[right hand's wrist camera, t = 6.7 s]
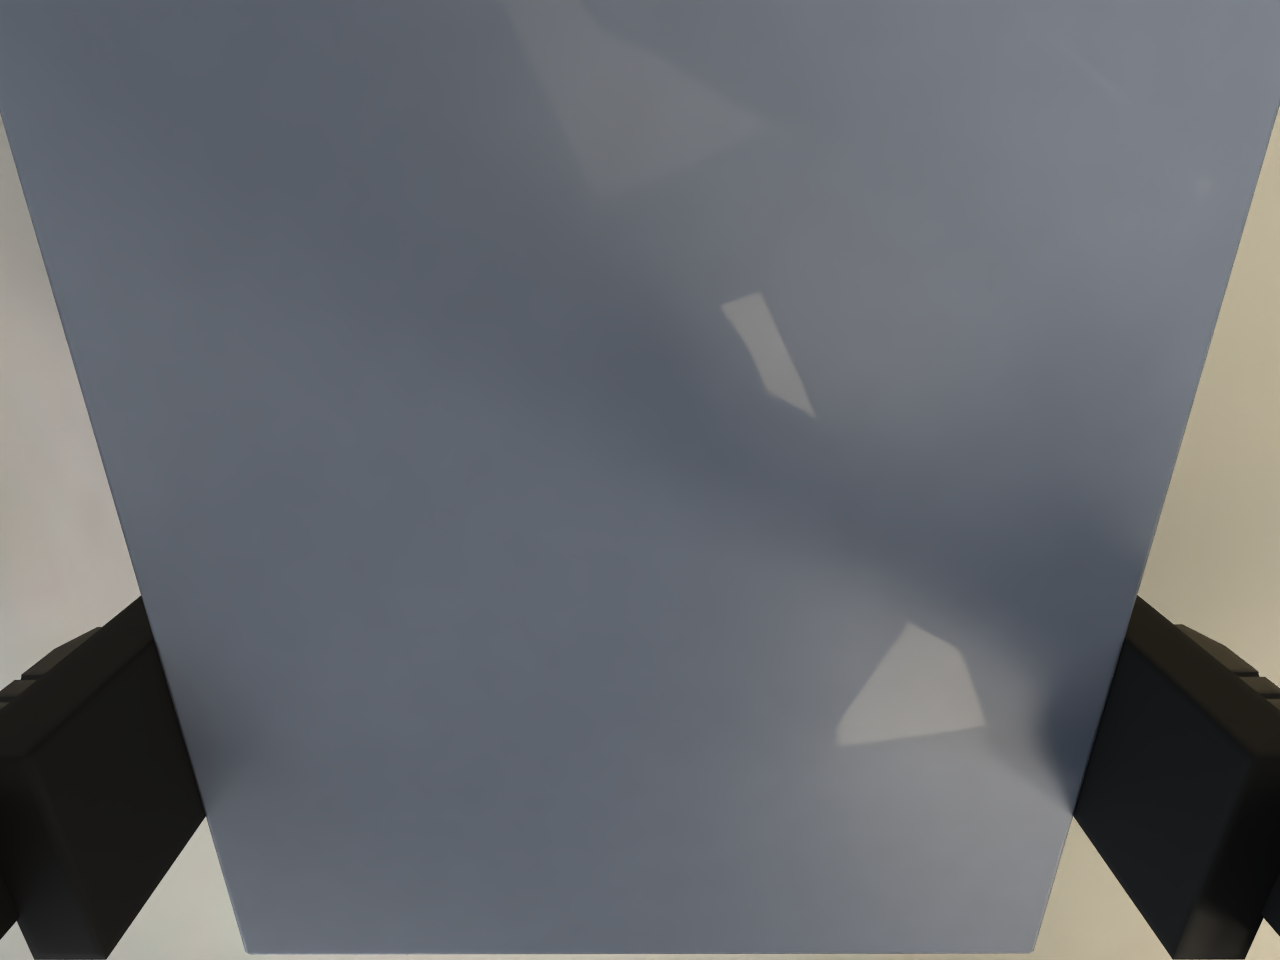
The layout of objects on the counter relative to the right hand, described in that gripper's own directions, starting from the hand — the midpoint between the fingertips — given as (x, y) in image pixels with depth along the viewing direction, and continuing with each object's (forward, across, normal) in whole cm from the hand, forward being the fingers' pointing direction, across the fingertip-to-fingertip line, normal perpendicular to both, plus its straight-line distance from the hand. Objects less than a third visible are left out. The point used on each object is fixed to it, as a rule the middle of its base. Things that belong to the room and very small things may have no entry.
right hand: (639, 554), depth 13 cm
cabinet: (+6, 0, -4) cm, 8 cm away
